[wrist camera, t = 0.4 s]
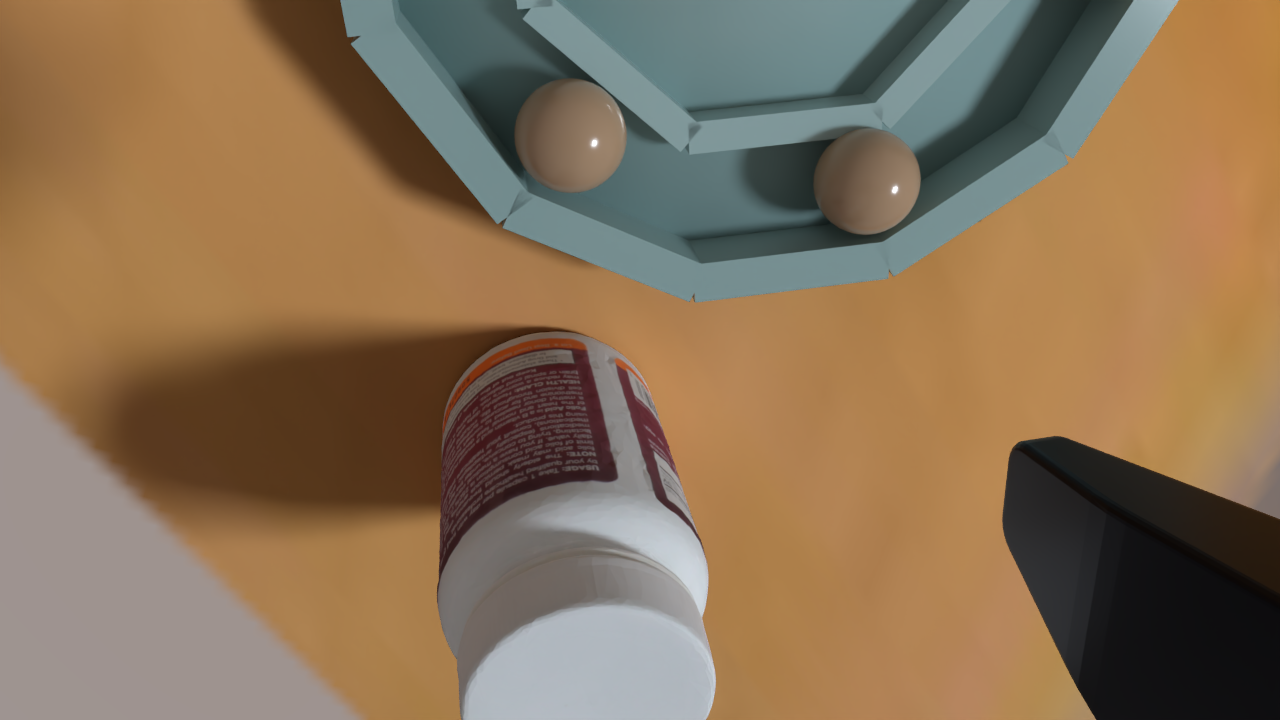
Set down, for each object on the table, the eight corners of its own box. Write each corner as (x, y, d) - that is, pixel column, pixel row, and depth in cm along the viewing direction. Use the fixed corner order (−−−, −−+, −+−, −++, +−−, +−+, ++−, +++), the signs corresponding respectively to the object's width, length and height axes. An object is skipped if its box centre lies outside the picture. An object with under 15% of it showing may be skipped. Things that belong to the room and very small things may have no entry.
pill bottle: (412, 473, 23) (387, 782, 16) (490, 295, 21) (504, 550, 14) (602, 529, 25) (659, 832, 17) (690, 366, 23) (794, 628, 16)
